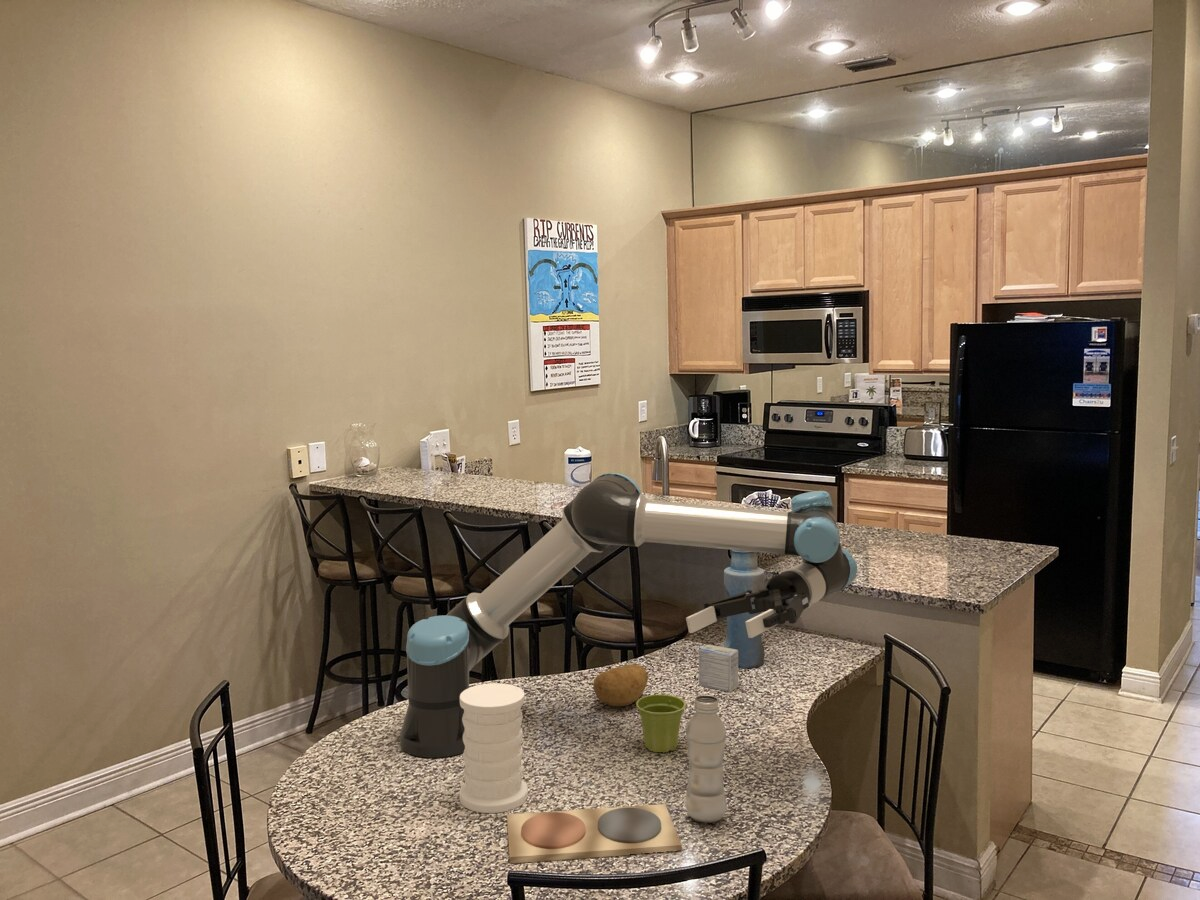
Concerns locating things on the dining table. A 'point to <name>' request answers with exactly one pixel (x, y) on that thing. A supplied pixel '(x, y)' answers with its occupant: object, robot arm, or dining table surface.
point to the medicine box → (718, 667)
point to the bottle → (736, 582)
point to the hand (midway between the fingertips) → (717, 627)
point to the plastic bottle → (705, 762)
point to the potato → (621, 685)
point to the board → (590, 833)
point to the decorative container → (492, 748)
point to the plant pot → (660, 721)
